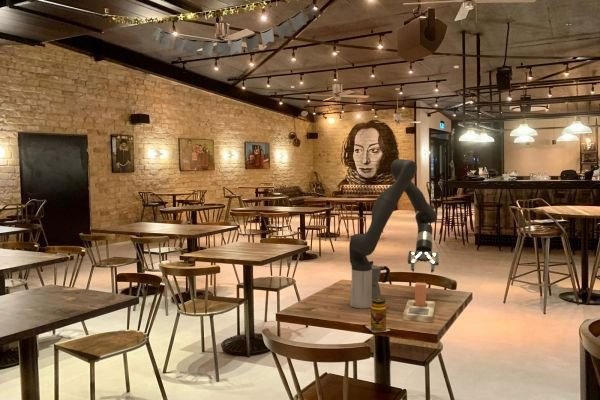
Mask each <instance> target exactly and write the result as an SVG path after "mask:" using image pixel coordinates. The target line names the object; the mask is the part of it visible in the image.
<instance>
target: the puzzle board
mask: <svg viewBox="0 0 600 400" xmlns="http://www.w3.org/2000/svg"><path fill="white" fill-rule="evenodd" d="M435 309H436V302H435V301H433V300H432V301H431V300H426V307H421V306H415V299H408V300H407V302H406V305H405V307H404V310H403V314H402V320H403V321H410V322H421V323H434V322H433V321H434V314H435Z"/></svg>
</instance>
